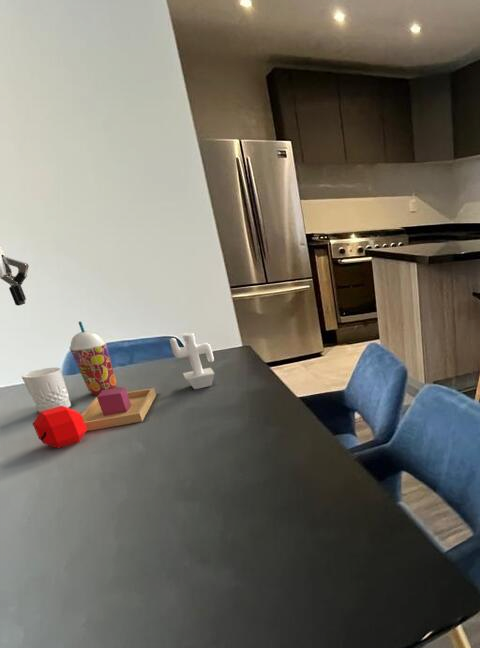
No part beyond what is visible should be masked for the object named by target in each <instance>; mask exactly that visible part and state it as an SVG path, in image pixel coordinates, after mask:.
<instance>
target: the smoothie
mask: <svg viewBox="0 0 480 648" xmlns="http://www.w3.org/2000/svg"><path fill="white" fill-rule="evenodd" d="M78 325H79V328H80V330H81V331H80V332H78V333H76V334H75V335H74V336H73V337H72V338H71V340H70V346H69V350H70V352H71V354H72V357H73V359H74V361H75V363H76V365H77V368H78V370H79V372H80V374H81V377H82V379H83V382H84V383H85V386H86V388H87V390H88V392H90V393H91V395H93V396H98V395H99V394H100V393H101V391H102V390H108V389H115V388H117V386H118V383H117V380H116V375H115V372H114V368H113V364H112V360H111V357H110V356H111V355H110V353H109V349H108V345H107V341H106V340H104V339H103V337H101V335H100V334H98V333H96V332H93V331H88V330H87V331H86V330H85V328H84V325H83V323H82V321H78Z"/></svg>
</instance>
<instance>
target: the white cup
mask: <svg viewBox="0 0 480 648" xmlns="http://www.w3.org/2000/svg"><path fill="white" fill-rule="evenodd" d="M21 379H22V380H23V382H24V386H25V387H26V389H27V391H28V393H29V395H30V397H31V399H32V401H33V402H34V404H35V406H36V408H37V411H38V412H39V413H40V412H41V411H44V410H48V409H52V408H56V407H59V406H65V407H67V408H70V407H71V406H72V402H71V400H70V395H69V392H68V388H67V385H66V382H65V379H64V375H63V373H62V370H61V368H60V367H47V368H41V369H36V370H31V371H28V372H26V373H23V374H22V375H21Z"/></svg>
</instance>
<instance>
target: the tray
mask: <svg viewBox="0 0 480 648" xmlns="http://www.w3.org/2000/svg"><path fill="white" fill-rule="evenodd" d="M127 394H128V397H129V400H130V403H131V406H130V408H129V409H128V411H127V412H124V413H118V414H112V415H106V416H104V415H103V412H102V410H101V407H100V404H99V401H98V399H97V396H95V398H94V399H93V400H92V401H91V402H90V404H89V405H88V406H87V407H86V408H85V409H84V411H82V412H81V413H80V414H81V415H82V417H83V420H84V422H85V425H86V428H87V431H86V432H89V431H90V432H91V431H95V430H102V429H106V428H113V427H117V426H118V427H119V426H124V425H131V424H134V423H141V422H143V421H144V419H145V417H146V415H147V413H148V412H149V410H150V408H151V406H152V403H153V402H154V401H155V398H156V396H157V393H156V390H155V387H152V388H145V389H140V390H139V389H137V390H131V391H127Z"/></svg>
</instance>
